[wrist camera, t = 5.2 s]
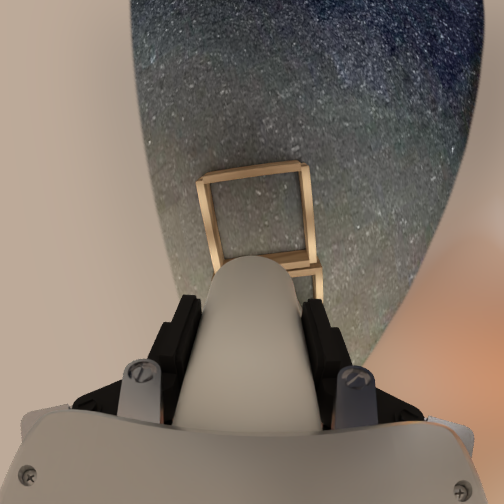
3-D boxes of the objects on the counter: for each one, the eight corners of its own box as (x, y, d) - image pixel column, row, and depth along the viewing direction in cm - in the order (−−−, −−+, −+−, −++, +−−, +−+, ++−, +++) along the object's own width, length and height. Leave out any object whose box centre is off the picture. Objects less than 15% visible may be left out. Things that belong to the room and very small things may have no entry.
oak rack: (195, 174, 31) (189, 179, 29) (309, 158, 30) (314, 161, 28) (233, 344, 41) (231, 358, 39) (320, 335, 40) (323, 348, 38)
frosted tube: (206, 252, 14) (114, 509, 3) (300, 255, 14) (372, 518, 3) (210, 327, 16) (167, 543, 5) (292, 330, 16) (318, 548, 5)
